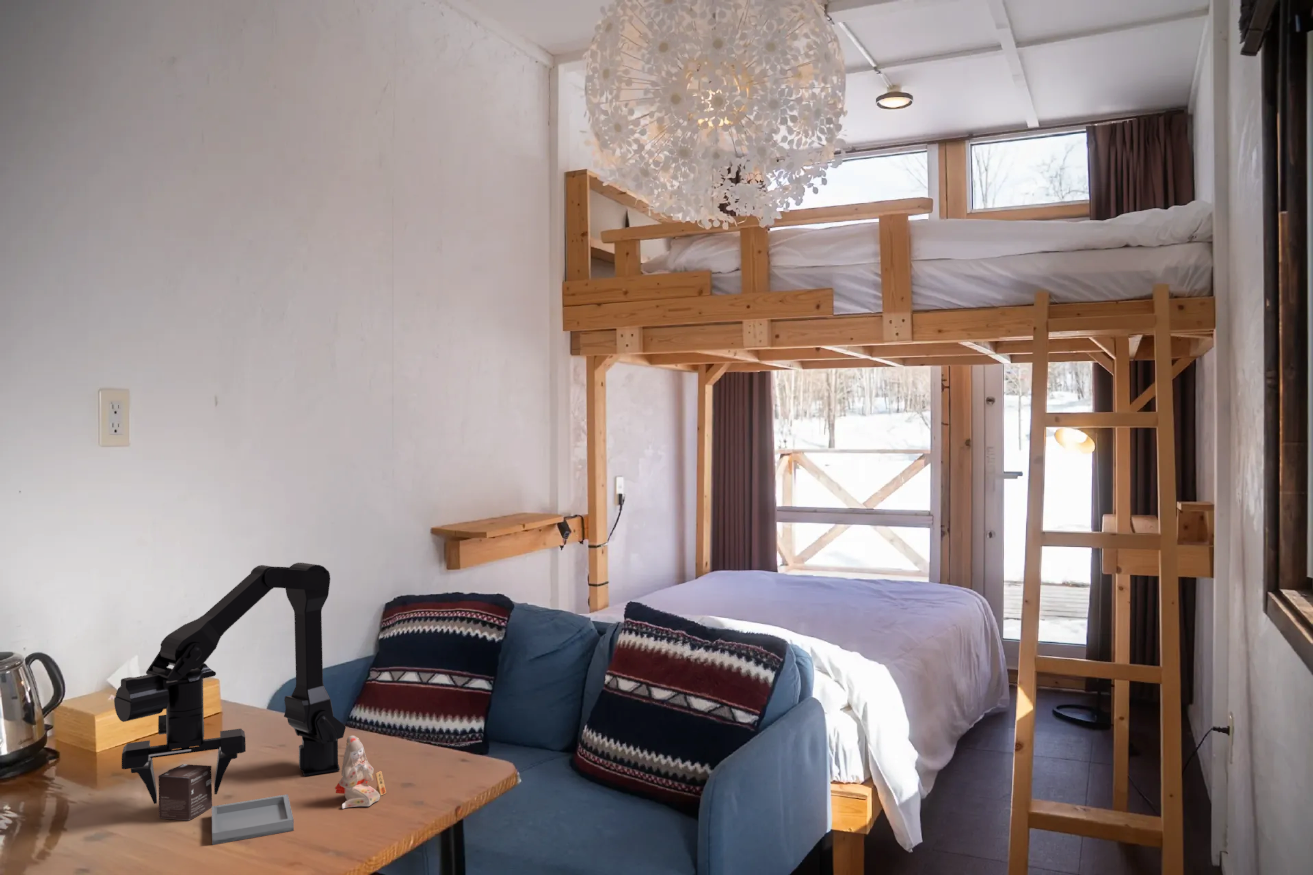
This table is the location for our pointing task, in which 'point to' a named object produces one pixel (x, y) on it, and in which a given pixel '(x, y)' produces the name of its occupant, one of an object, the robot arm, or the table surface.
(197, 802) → the box
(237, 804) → the tray
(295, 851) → the table surface
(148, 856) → the table surface
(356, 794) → the figurine
